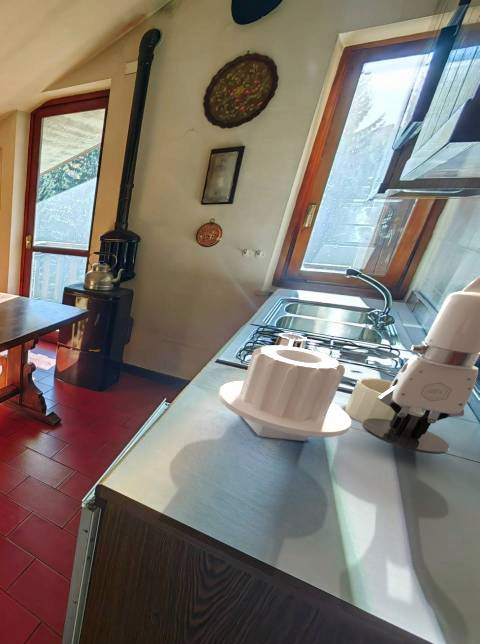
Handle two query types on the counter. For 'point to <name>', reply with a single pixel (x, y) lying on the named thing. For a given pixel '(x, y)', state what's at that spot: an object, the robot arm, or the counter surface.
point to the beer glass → (291, 340)
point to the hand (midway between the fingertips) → (404, 432)
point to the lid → (406, 435)
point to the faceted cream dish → (371, 400)
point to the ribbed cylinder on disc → (289, 394)
